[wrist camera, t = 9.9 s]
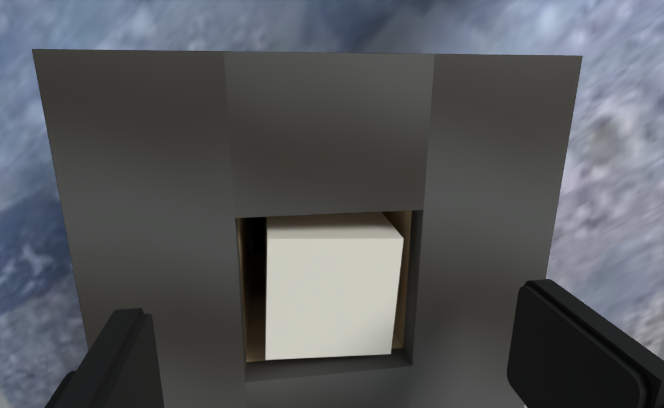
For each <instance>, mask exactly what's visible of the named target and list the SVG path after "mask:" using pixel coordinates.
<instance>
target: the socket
mask: <svg viewBox="0 0 664 408" xmlns="http://www.w3.org/2000/svg"><path fill="white" fill-rule="evenodd" d="M32 53H33V58H34V63H35V69H36V74H37V79H38V85H39V90H40V95H41V100H42V106H43V111H44V116H45V122H46V127H47V132H48V138H49V143H50V148H51V154H52V159H53V164H54V170H55V175H56V180H57V186H58V191H59V196H60V202H61V207H62V212H63V217H64V223H65V228H66V233H67V239H68V244H69V249H70V255H71V260H72V265H73V271H74V276H75V281H76V287H77V292H78V297H79V303H80V308H81V313H82V318H83V324H84V329H85V334H86V340H87V345H88V350H90V348H91V347H92V345H93V343H94V342H95V340H96V339H97V337H98V335H99V334H100V332H101V331H102V329H103V327H104V326H105V324H106V323H107V321H108V319H109V318H110V316H111V315H112V313H113V312H114V311H115V310H118V309H133V308H142V309H143V312H144V314H149V313H150V314H151V315H152V319H153V325H154V333H155V340H156V348H157V355H158V363H159V370H160V378H161V385H162V393H163V400H164V408H524V402H523V401H522V400H521V399H520V397H519V396H518V395H517V393H516V392H515V391H514V390H513V388H512V387H511V386H510V384H509V382H508V378H507V365H508V359H509V352H510V345H511V338H512V331H513V325H514V318H515V311H516V304H517V298H518V292H519V289H520V287H522V286H524V284H525V282H527V281H528V280H542V279H545V278H546V272H547V266H548V260H549V254H550V248H551V242H552V236H553V230H554V224H555V218H556V212H557V206H558V200H559V194H560V188H561V182H562V176H563V170H564V164H565V159H566V153H567V147H568V141H569V135H570V129H571V123H572V117H573V111H574V105H575V99H576V93H577V87H578V81H579V75H580V69H581V63H582V57H583V56H563V55H480V54H398V53H315V52H233V51H150V50H68V49H32ZM362 212H382V213H383V215H384V216H385V217H386V218H387V219H388V221H389V222H390V223H391V224H392V225H393V226H394V228H395V229H396V230H397V231H398V232H399V234H400V235H401V236H402V237H403V238H404V240H403V249H402V258H401V267H400V276H399V285H398V293H397V302H396V311H395V320H394V329H393V338H392V347H391V354H381V355H359V356H338V357H317V358H296V359H275V360H266V352H265V253H255V254H253V251H252V232H251V217H270V216H293V215H316V214H339V213H362Z"/></svg>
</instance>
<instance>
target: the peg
mask: <svg viewBox="0 0 664 408" xmlns="http://www.w3.org/2000/svg"><path fill="white" fill-rule="evenodd" d="M403 240H404V238H403V237H402V236H401V235H400V234H399V232H398V231H397V230H396V229H395V228H394V226H393V225H392V224H391V223H390V222H389V221H388V219H387V218H386V217H385V216H384V215H383V213H382V212H362V213H339V214H316V215H293V216H270V217H265V352H266V360H275V359H296V358H317V357H338V356H359V355H381V354H391V347H392V338H393V329H394V320H395V311H396V302H397V293H398V285H399V276H400V267H401V258H402V249H403Z"/></svg>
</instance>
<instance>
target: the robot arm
mask: <svg viewBox="0 0 664 408" xmlns="http://www.w3.org/2000/svg"><path fill="white" fill-rule="evenodd" d="M507 378H508V382H509V384H510V386H511V387H512V388H513V390H514V391H515V392H516V393H517V395H518V396H519V397H520V399H521V400H522V401H523V402H524V404H525V405H526V406H527V407H528V408H664V361H663V360H662V359H660V358H659V357H658V356H656V355H655V354H653V353H652V352H651V351H649V350H648V349H647V348H645V347H644V346H642V345H641V344H640V343H638V342H637V341H635V340H634V339H633V338H631V337H630V336H629V335H627V334H626V333H624V332H623V331H622V330H620V329H619V328H617V327H616V326H615V325H613V324H612V323H611V322H609V321H608V320H606V319H605V318H604V317H602V316H601V315H599V314H598V313H597V312H595V311H594V310H593V309H591V308H590V307H588V306H587V305H586V304H584V303H583V302H582V301H580V300H579V299H577V298H576V297H575V296H573V295H572V294H570V293H569V292H568V291H566V290H565V289H564V288H562V287H561V286H559V285H558V284H557V283H555V282H554V281H552V280H550V279H542V280H528V281H527V282H525V284H524V286H522V287H520V289H519V292H518V298H517V304H516V311H515V318H514V325H513V331H512V338H511V345H510V352H509V359H508V365H507ZM45 408H164V400H163V393H162V385H161V378H160V370H159V363H158V355H157V348H156V340H155V333H154V325H153V319H152V315H151V314H150V313H149V314H144V312H143V309H142V308H133V309H118V310H115V311H114V312H113V313H112V315H111V316H110V318H109V319H108V321H107V323H106V324H105V326H104V327H103V329H102V331H101V332H100V334H99V335H98V337H97V339H96V340H95V342H94V343H93V345H92V347H91V348H90V350H89V352H88V353H87V355H86V356H85V358H84V360H83V361H82V363H81V364H80V366H79V368H78V369H77V371H72V372H70V373H68V374H67V375H66V376H65V377H64V379H63V380H62V382H61V383H60V385H59V386H58V388H57V390H56V391H55V393H54V394H53V396H52V397H51V399H50V400H49V402H48V403H47V405H46V407H45Z"/></svg>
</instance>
